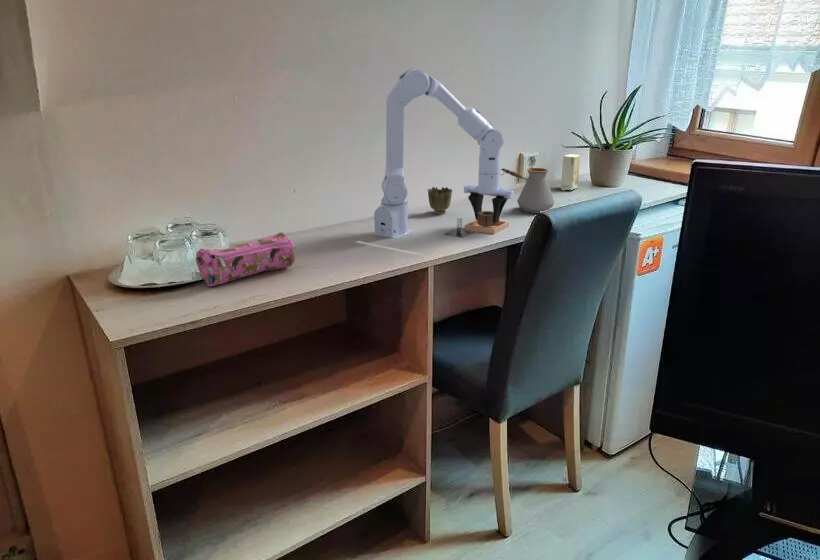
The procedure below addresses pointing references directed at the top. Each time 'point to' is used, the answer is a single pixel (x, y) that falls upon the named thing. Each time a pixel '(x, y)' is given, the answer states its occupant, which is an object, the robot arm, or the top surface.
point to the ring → (485, 218)
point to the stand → (459, 230)
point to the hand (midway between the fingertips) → (487, 220)
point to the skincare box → (570, 172)
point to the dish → (487, 227)
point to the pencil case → (245, 259)
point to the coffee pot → (534, 191)
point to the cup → (439, 199)
